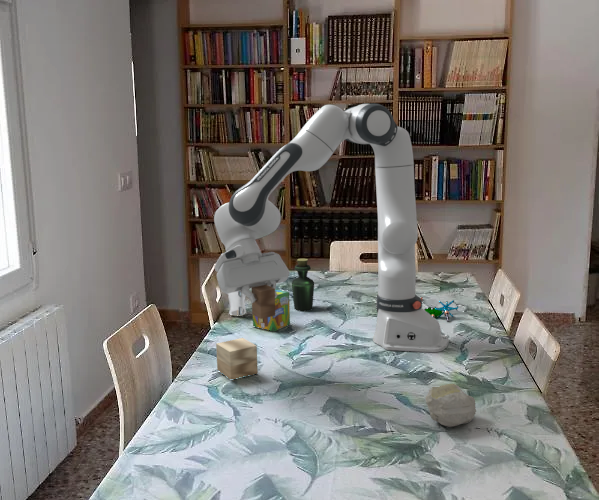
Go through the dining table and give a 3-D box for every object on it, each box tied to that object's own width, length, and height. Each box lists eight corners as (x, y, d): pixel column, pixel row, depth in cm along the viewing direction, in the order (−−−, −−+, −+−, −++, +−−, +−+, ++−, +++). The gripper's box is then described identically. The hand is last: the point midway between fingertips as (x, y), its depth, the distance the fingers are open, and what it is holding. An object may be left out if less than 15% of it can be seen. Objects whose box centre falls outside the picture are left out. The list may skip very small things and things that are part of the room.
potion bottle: (312, 312, 234) (311, 262, 230) (289, 311, 235) (288, 261, 232) (316, 306, 241) (315, 257, 238) (294, 305, 243) (293, 257, 240)
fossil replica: (485, 419, 150) (445, 411, 156) (485, 383, 149) (444, 376, 155) (461, 436, 141) (419, 426, 147) (460, 397, 140) (418, 389, 146)
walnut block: (266, 310, 182) (265, 284, 181) (275, 315, 179) (274, 288, 177) (252, 314, 180) (251, 287, 178) (260, 318, 176) (260, 291, 174)
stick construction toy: (460, 309, 226) (454, 295, 221) (463, 325, 221) (457, 311, 216) (425, 317, 229) (419, 303, 224) (427, 333, 225) (421, 320, 219)
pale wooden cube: (243, 365, 185) (242, 337, 184) (257, 374, 179) (256, 345, 177) (217, 371, 181) (216, 343, 180) (230, 381, 175) (229, 351, 173)
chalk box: (273, 332, 213) (272, 287, 210) (251, 327, 219) (250, 283, 216) (291, 325, 220) (290, 281, 217) (269, 320, 226) (268, 278, 223)
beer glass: (246, 317, 230) (244, 275, 227) (226, 317, 230) (224, 275, 227) (248, 311, 237) (246, 270, 234) (228, 312, 237) (227, 270, 234)
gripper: (273, 256, 191) (292, 298, 186) (208, 268, 180) (227, 312, 175) (281, 244, 186) (301, 286, 181) (215, 255, 175) (235, 300, 170)
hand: (264, 299), depth 178 cm, fingers closed on walnut block, 4 cm apart
